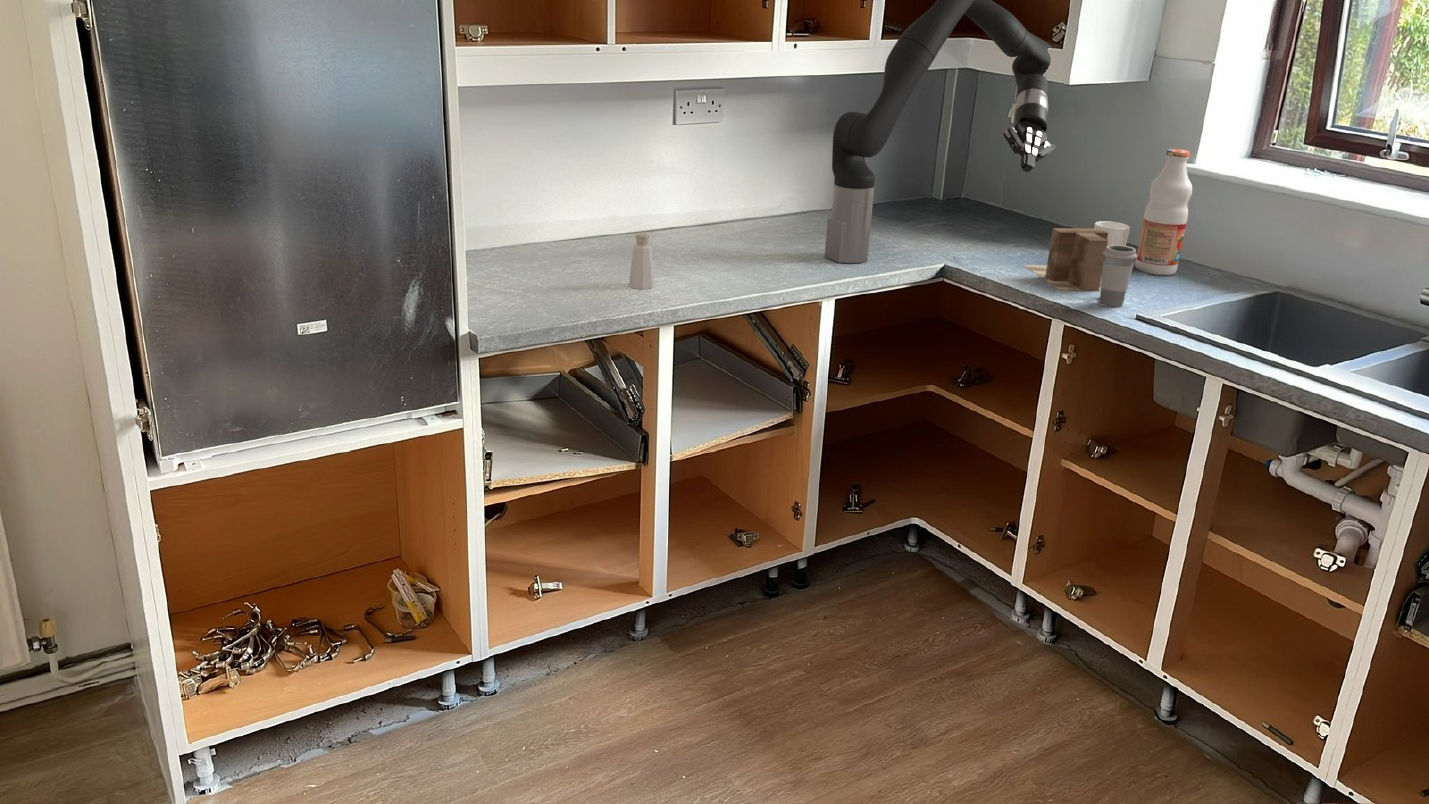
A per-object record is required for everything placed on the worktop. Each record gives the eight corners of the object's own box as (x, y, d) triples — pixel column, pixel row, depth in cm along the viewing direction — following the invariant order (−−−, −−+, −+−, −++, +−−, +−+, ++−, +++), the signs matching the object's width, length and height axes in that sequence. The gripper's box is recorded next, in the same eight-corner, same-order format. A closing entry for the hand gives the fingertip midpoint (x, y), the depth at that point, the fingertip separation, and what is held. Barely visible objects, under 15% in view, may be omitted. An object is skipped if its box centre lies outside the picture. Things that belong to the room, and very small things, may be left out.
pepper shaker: (639, 280, 232) (640, 229, 228) (659, 285, 230) (661, 234, 225) (623, 286, 228) (623, 234, 224) (643, 291, 225) (644, 238, 221)
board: (1022, 268, 256) (1023, 265, 255) (1075, 268, 257) (1076, 265, 257) (1060, 294, 236) (1061, 290, 236) (1117, 294, 238) (1117, 290, 238)
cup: (1102, 297, 235) (1112, 242, 231) (1132, 304, 231) (1143, 248, 227) (1088, 303, 230) (1098, 247, 226) (1119, 310, 226) (1130, 254, 222)
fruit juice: (1127, 264, 263) (1149, 146, 252) (1165, 265, 264) (1188, 147, 253) (1144, 275, 254) (1168, 153, 244) (1183, 276, 255) (1208, 154, 244)
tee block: (1045, 276, 247) (1053, 228, 242) (1091, 276, 248) (1099, 228, 244) (1066, 290, 236) (1074, 240, 232) (1114, 290, 238) (1123, 240, 234)
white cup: (1125, 265, 262) (1133, 224, 258) (1118, 272, 256) (1126, 230, 252) (1091, 260, 266) (1099, 219, 262) (1084, 267, 259) (1091, 225, 256)
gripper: (1015, 92, 252) (1011, 148, 243) (1065, 113, 254) (1062, 170, 246) (997, 113, 258) (992, 168, 250) (1046, 133, 261) (1043, 189, 252)
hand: (1027, 169), depth 248 cm, fingers closed
